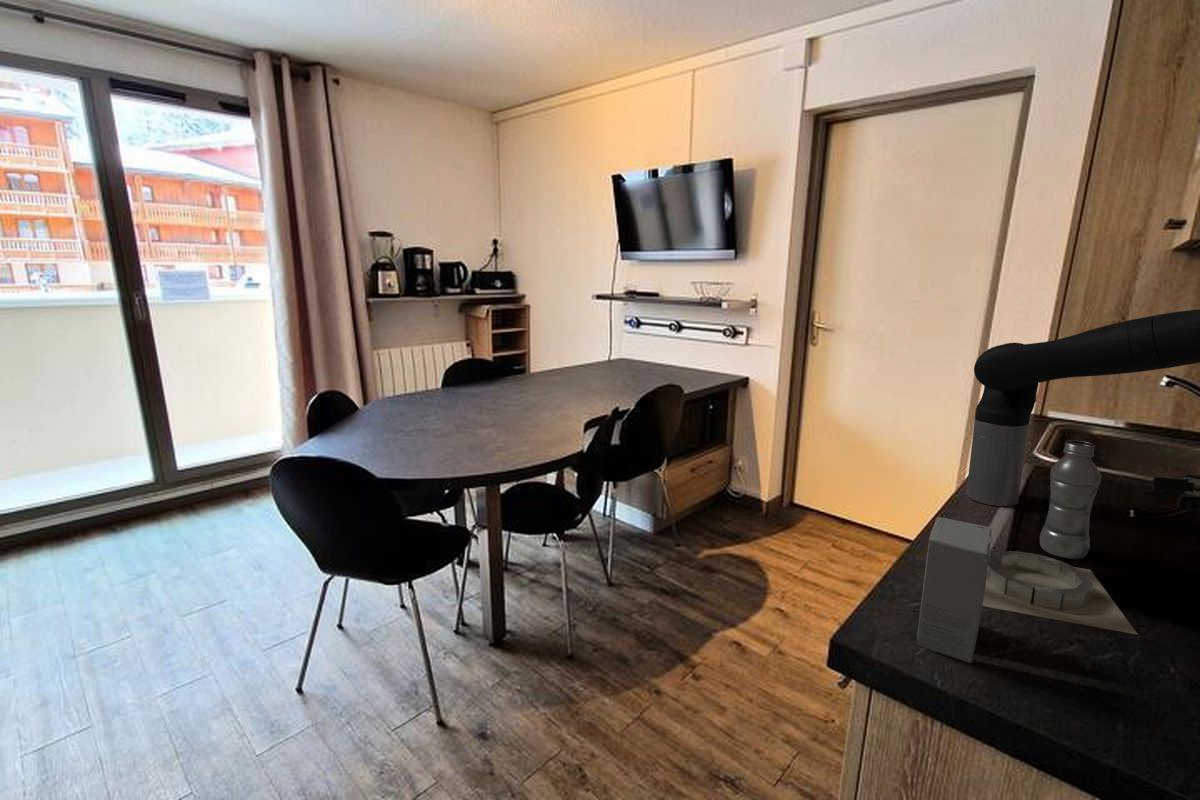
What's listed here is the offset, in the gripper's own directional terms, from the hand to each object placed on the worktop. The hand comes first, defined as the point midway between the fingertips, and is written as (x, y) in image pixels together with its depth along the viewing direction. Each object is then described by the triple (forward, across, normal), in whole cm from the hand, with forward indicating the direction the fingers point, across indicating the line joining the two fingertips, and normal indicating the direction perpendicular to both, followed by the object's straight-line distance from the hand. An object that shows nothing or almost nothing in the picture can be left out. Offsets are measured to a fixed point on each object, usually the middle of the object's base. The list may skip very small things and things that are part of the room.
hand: (1165, 492), depth 87 cm
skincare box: (+32, +33, +13) cm, 47 cm away
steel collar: (+18, +15, +12) cm, 27 cm away
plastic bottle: (+12, 0, +13) cm, 18 cm away
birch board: (+18, +15, +13) cm, 27 cm away
